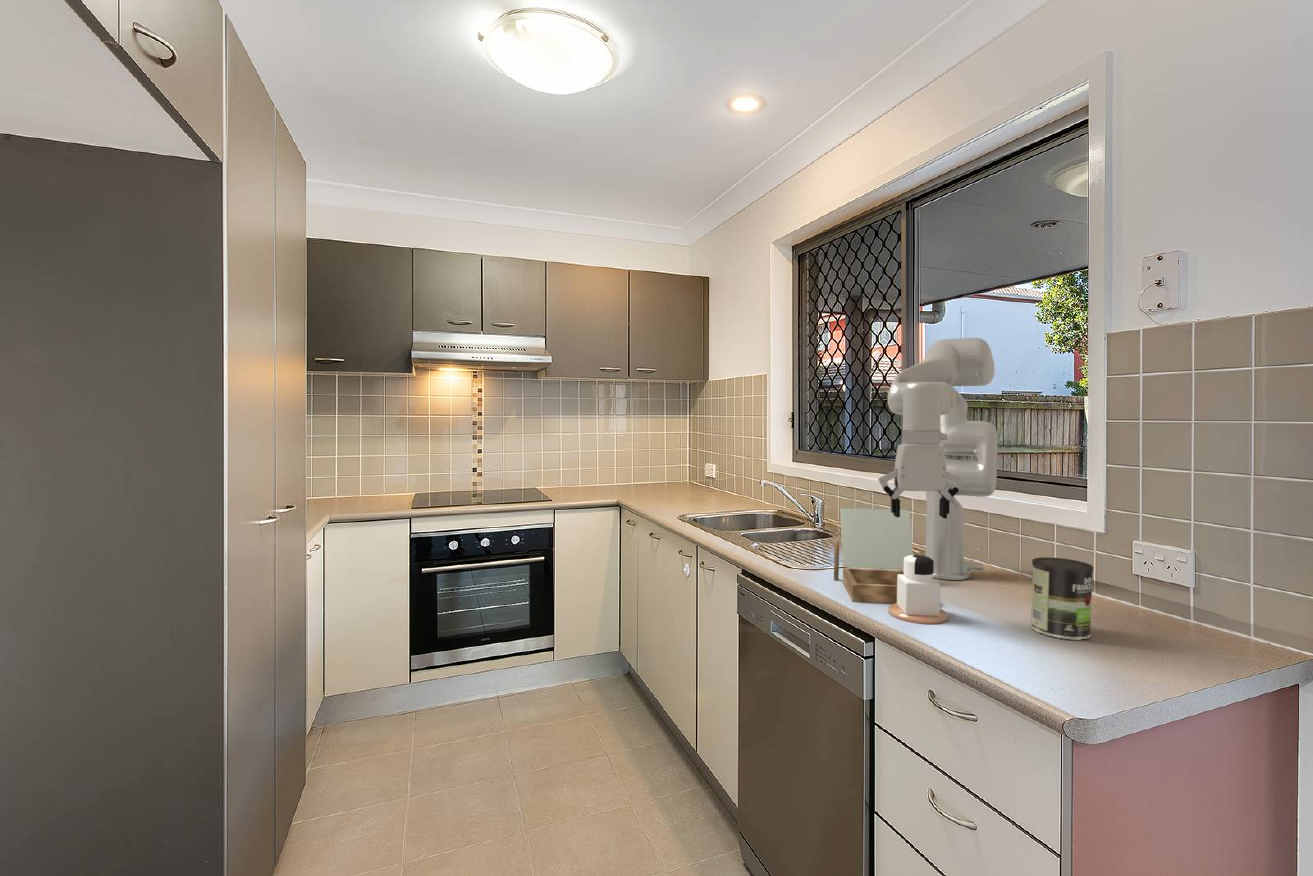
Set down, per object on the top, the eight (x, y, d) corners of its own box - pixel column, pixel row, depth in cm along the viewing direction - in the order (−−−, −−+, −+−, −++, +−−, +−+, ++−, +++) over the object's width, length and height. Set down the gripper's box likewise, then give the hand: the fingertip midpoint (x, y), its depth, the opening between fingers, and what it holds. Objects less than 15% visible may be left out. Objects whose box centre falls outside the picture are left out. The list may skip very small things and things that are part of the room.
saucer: (938, 607, 139) (938, 603, 139) (955, 625, 127) (955, 621, 127) (883, 604, 141) (883, 601, 141) (895, 622, 129) (895, 618, 129)
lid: (913, 569, 155) (911, 570, 157) (909, 510, 160) (907, 511, 161) (843, 566, 158) (842, 567, 160) (841, 508, 162) (840, 509, 164)
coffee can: (1101, 635, 121) (1104, 565, 121) (1072, 644, 117) (1074, 572, 116) (1048, 619, 131) (1050, 554, 130) (1019, 627, 126) (1021, 560, 125)
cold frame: (913, 586, 155) (913, 570, 155) (930, 605, 140) (930, 588, 140) (842, 583, 158) (843, 567, 158) (852, 601, 143) (852, 584, 143)
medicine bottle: (929, 606, 137) (930, 553, 136) (940, 616, 130) (941, 561, 129) (896, 605, 138) (897, 552, 137) (905, 615, 131) (906, 560, 130)
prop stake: (838, 579, 162) (838, 538, 161) (838, 580, 160) (839, 539, 160) (833, 579, 162) (834, 538, 161) (834, 580, 161) (834, 539, 160)
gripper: (957, 438, 134) (956, 514, 135) (876, 437, 137) (875, 513, 138) (969, 440, 127) (967, 521, 128) (883, 439, 130) (881, 519, 131)
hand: (919, 516), depth 133 cm, fingers open, 9 cm apart
